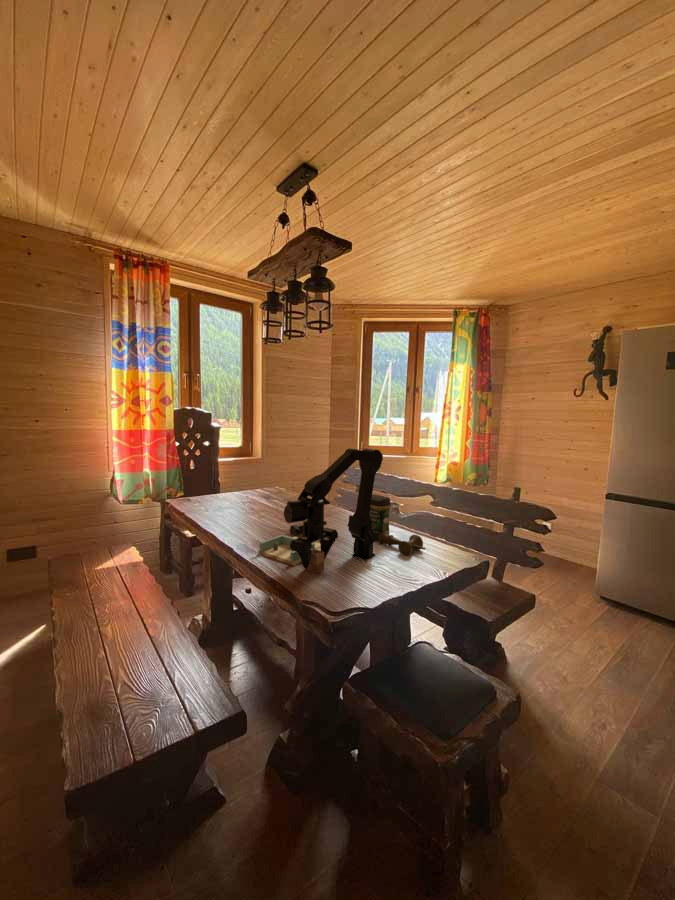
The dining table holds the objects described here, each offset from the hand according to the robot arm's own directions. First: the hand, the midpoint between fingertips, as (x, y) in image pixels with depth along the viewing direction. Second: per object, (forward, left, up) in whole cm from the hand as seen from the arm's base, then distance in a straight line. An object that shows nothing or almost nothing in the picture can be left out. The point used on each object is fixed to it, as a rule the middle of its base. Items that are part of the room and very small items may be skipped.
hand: (314, 564), depth 124 cm
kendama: (-15, -35, -2) cm, 38 cm away
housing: (+16, -4, 0) cm, 16 cm away
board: (+16, -8, -2) cm, 18 cm away
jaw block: (0, 0, -2) cm, 2 cm away
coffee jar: (-1, -40, -2) cm, 40 cm away
